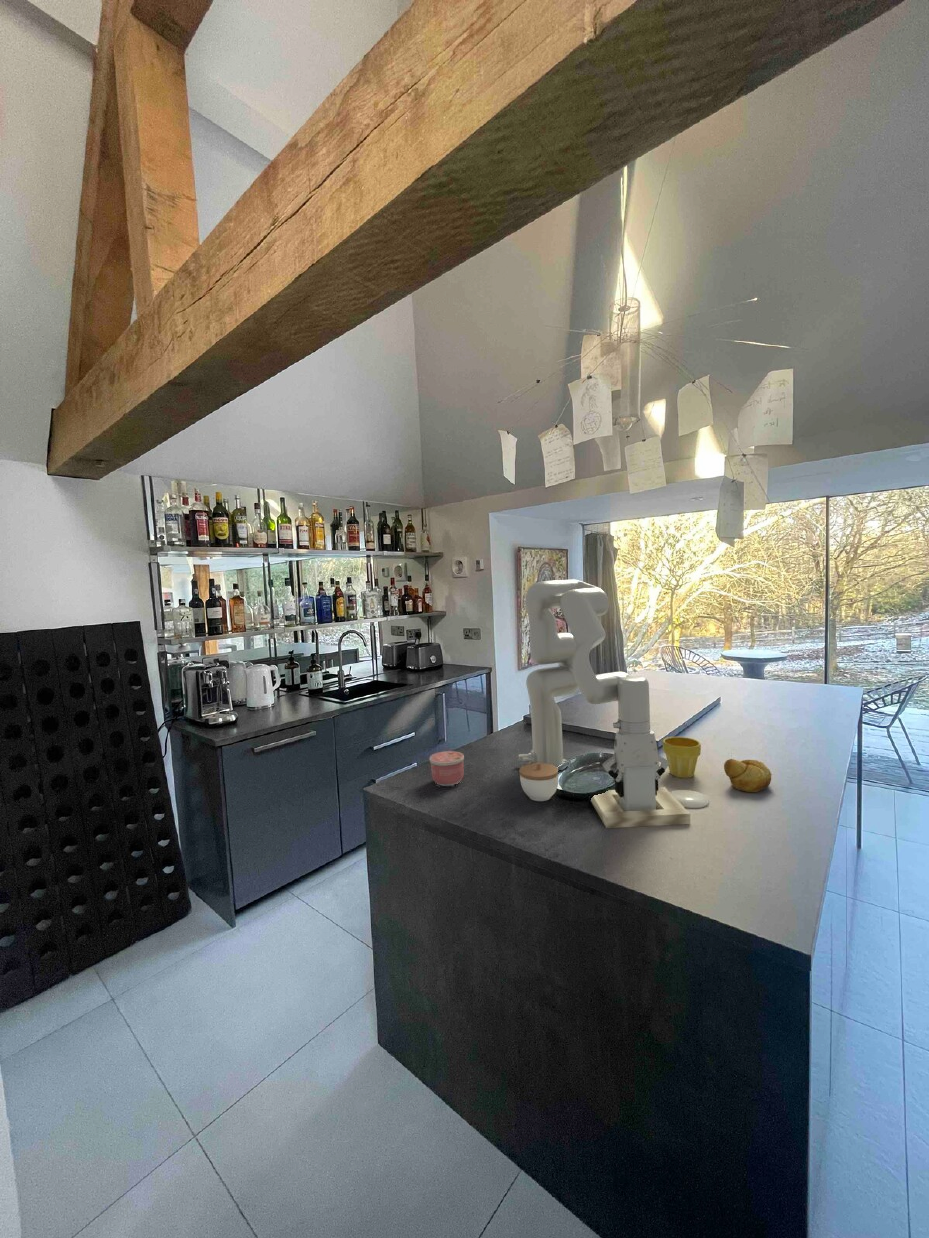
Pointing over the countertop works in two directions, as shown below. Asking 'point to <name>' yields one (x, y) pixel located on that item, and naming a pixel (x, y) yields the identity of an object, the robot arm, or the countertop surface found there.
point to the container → (447, 767)
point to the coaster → (690, 798)
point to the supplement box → (638, 789)
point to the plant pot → (681, 755)
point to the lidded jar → (539, 780)
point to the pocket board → (664, 814)
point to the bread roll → (747, 774)
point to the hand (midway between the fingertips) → (636, 793)
